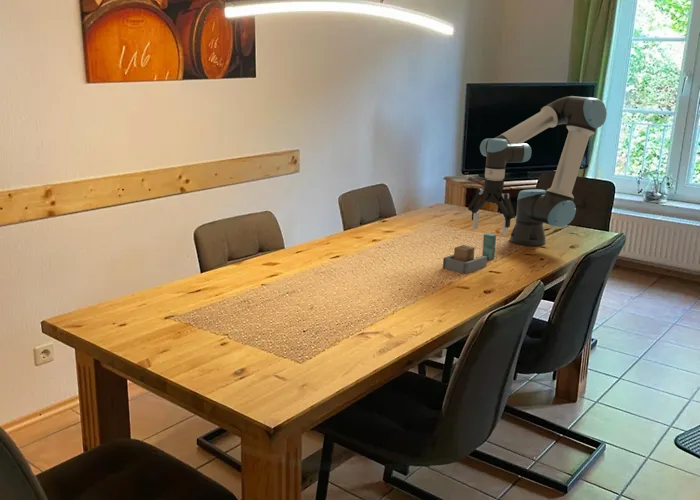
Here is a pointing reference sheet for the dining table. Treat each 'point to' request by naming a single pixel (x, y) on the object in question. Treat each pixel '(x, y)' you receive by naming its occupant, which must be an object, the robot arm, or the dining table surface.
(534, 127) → the robot arm
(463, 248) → the tethered block
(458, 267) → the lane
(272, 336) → the dining table surface
